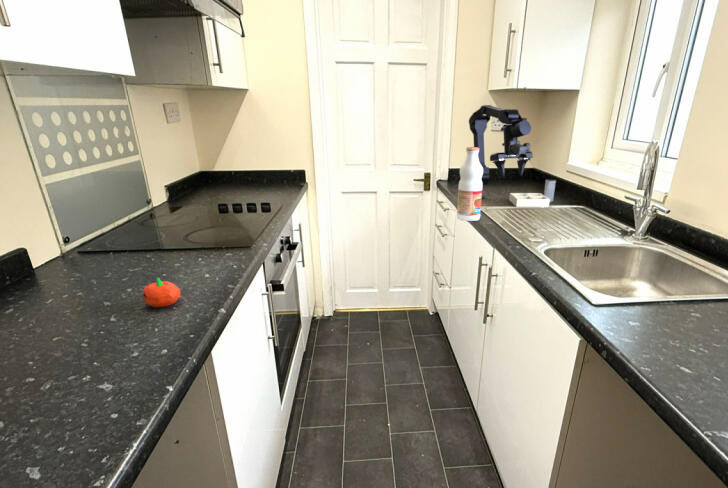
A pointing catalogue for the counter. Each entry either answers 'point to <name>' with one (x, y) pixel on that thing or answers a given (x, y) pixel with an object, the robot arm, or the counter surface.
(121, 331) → the counter surface
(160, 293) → the pumpkin
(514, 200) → the grid
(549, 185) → the grey cylinder
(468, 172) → the fruit juice
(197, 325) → the counter surface
